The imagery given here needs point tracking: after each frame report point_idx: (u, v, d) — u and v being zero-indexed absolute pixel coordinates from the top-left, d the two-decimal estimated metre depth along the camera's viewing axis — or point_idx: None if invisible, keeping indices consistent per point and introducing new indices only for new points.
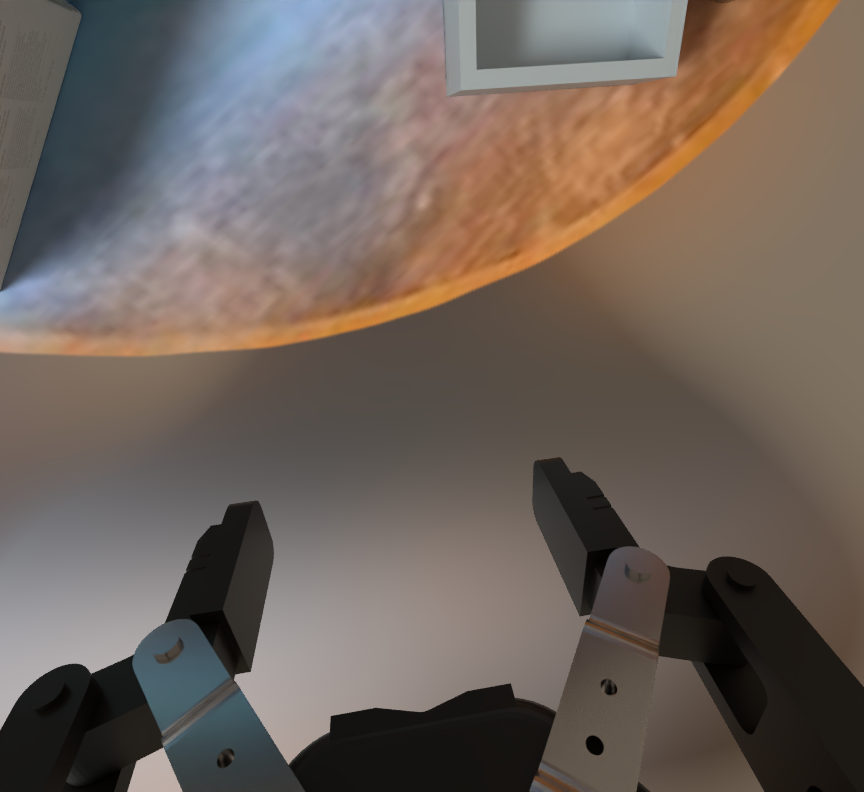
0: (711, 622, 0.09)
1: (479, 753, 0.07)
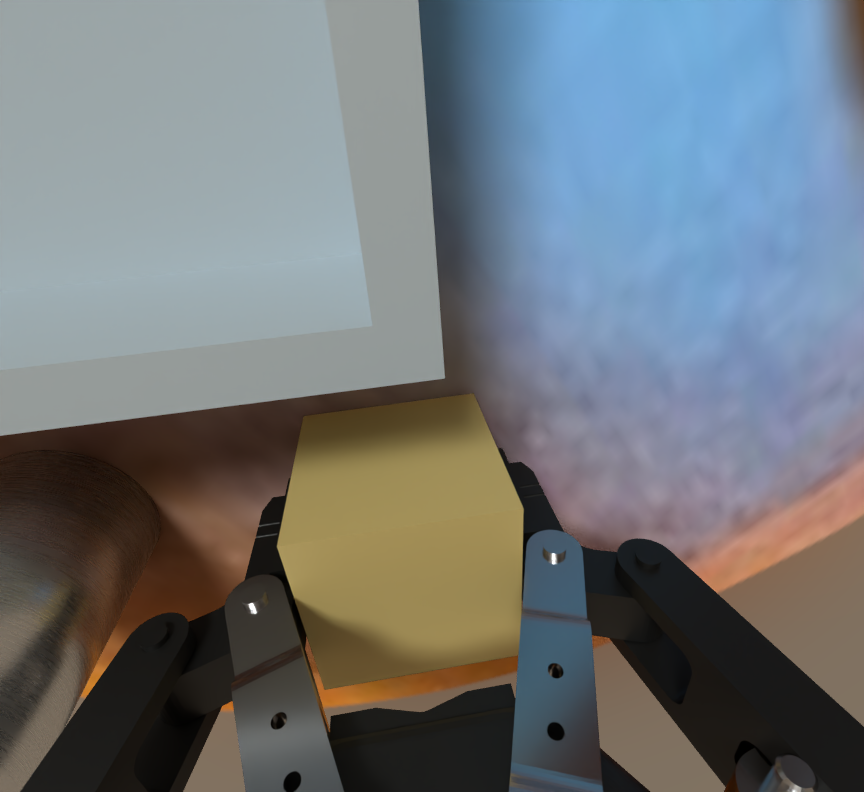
0: (619, 599, 0.10)
1: (479, 753, 0.07)
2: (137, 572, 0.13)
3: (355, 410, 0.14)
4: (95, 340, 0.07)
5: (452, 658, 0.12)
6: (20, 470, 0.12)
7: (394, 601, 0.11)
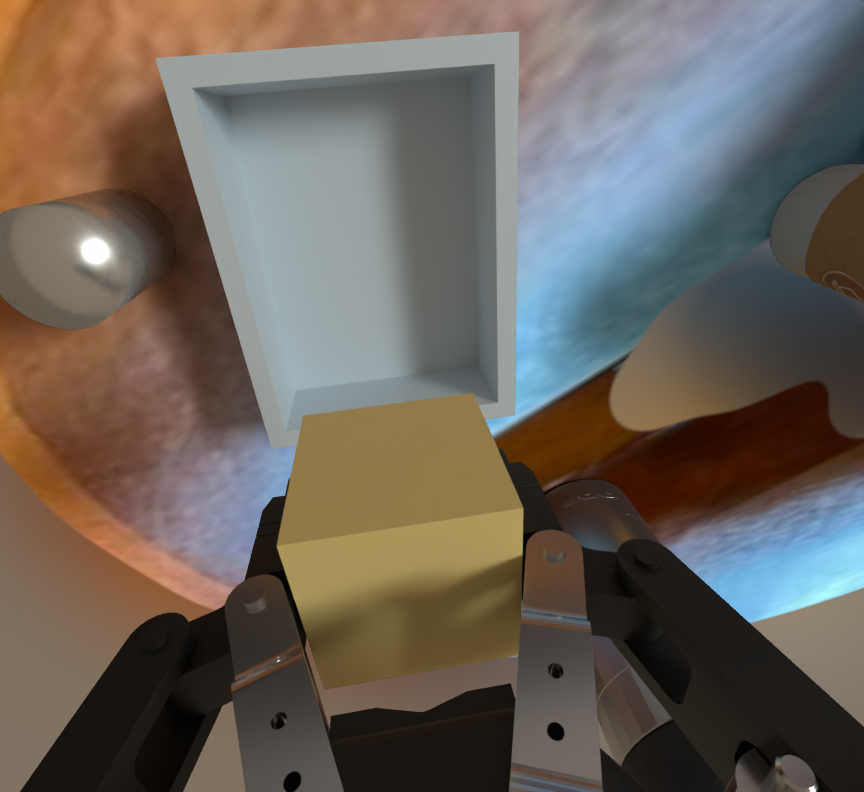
0: (619, 599, 0.10)
1: (479, 753, 0.07)
2: None
3: (355, 410, 0.14)
4: (269, 356, 0.25)
5: (452, 658, 0.12)
6: (169, 243, 0.25)
7: (393, 600, 0.11)
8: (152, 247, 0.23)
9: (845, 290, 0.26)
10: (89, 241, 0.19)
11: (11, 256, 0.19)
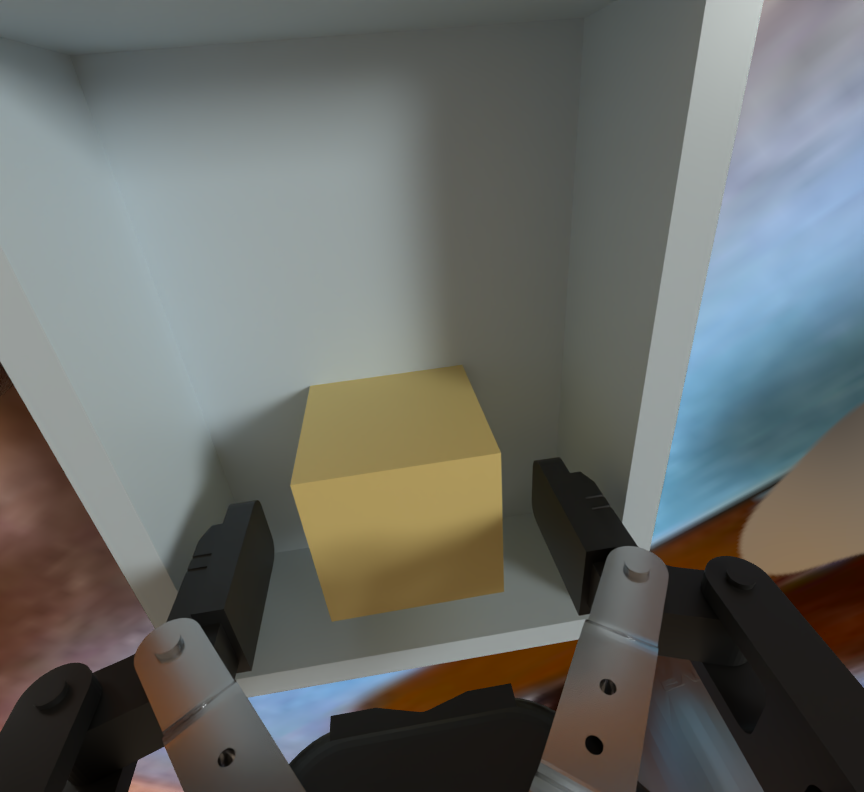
0: (710, 621, 0.09)
1: (479, 753, 0.07)
2: None
3: (356, 380, 0.15)
4: (185, 564, 0.13)
5: (443, 593, 0.14)
6: None
7: (391, 537, 0.12)
8: None
9: None
10: None
11: None
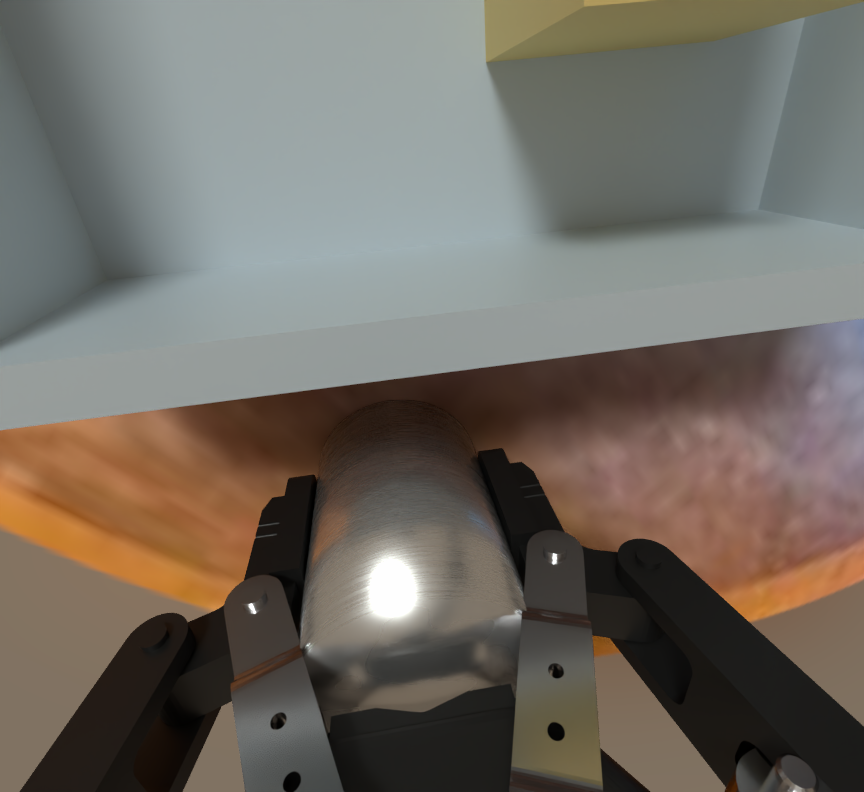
0: (620, 599, 0.10)
1: (479, 753, 0.07)
2: None
3: None
4: (704, 266, 0.08)
5: None
6: (402, 415, 0.13)
7: None
8: (398, 462, 0.11)
9: None
10: (355, 636, 0.08)
11: None
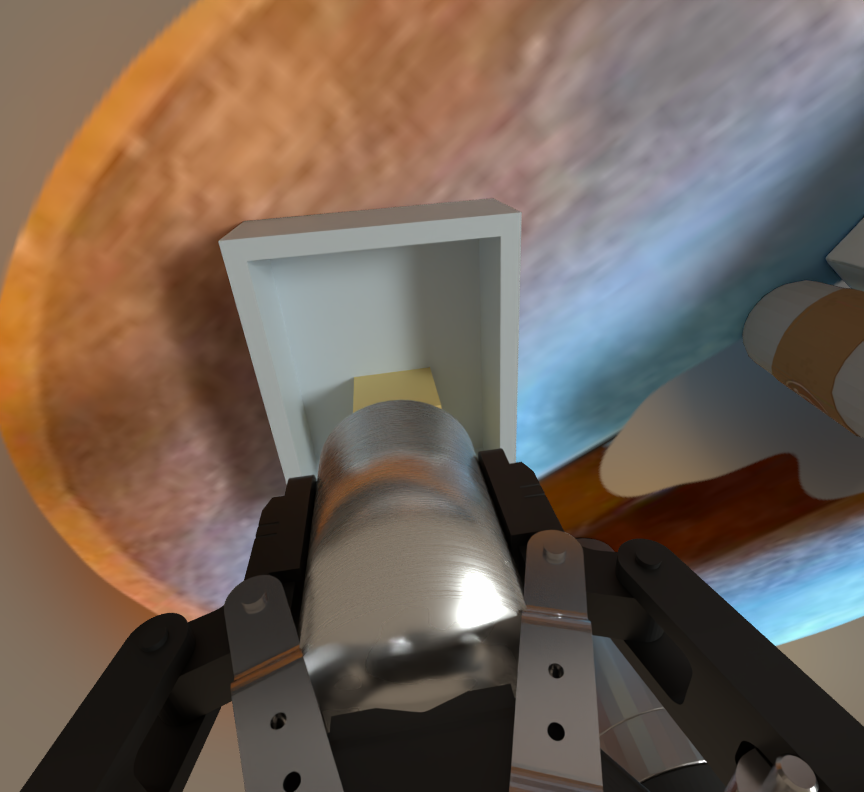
0: (620, 599, 0.10)
1: (479, 753, 0.07)
2: None
3: (376, 374, 0.31)
4: (300, 456, 0.28)
5: None
6: (401, 415, 0.13)
7: None
8: (398, 462, 0.11)
9: (804, 398, 0.30)
10: (355, 635, 0.08)
11: None
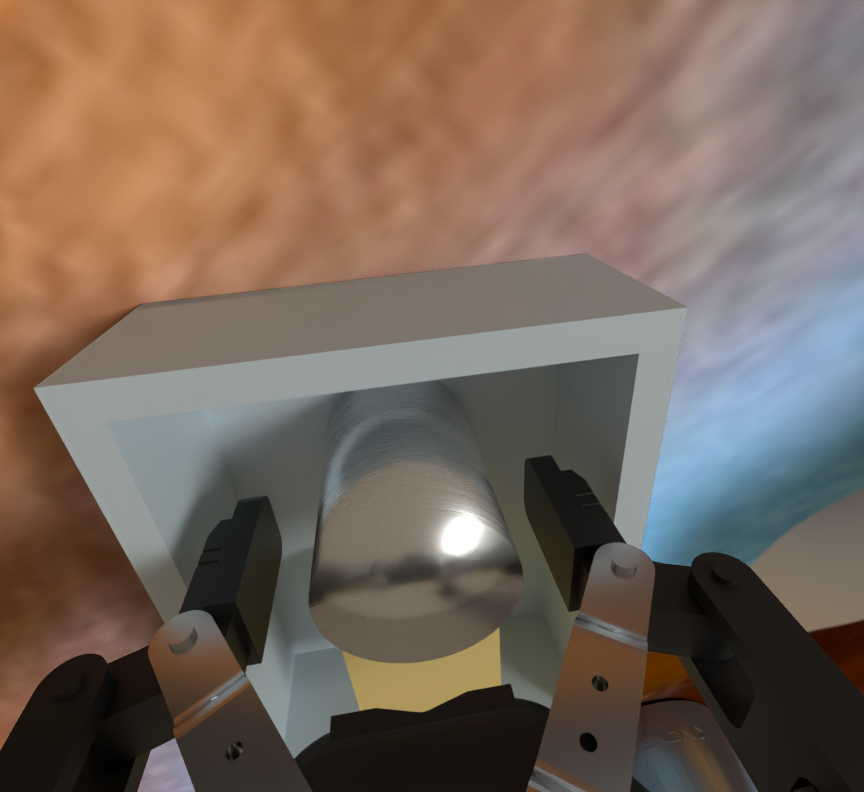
0: (695, 617, 0.09)
1: (479, 753, 0.07)
2: None
3: None
4: None
5: None
6: None
7: (415, 679, 0.16)
8: (398, 418, 0.13)
9: None
10: (362, 546, 0.10)
11: (392, 636, 0.12)
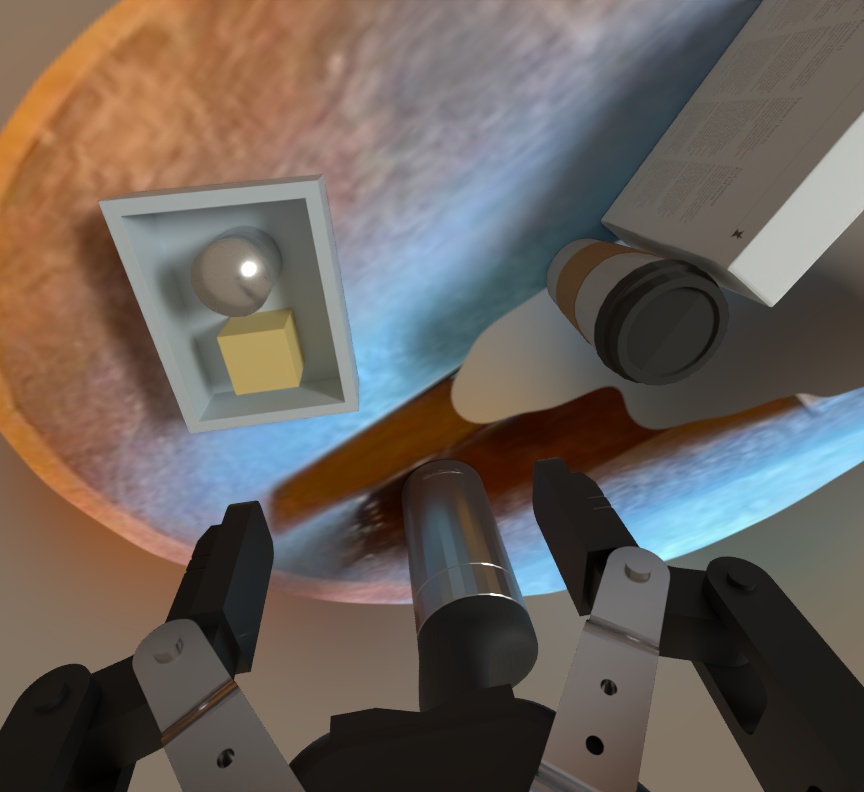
0: (711, 622, 0.09)
1: (479, 753, 0.07)
2: (279, 270, 0.37)
3: None
4: (184, 371, 0.38)
5: (275, 385, 0.38)
6: (242, 227, 0.36)
7: (252, 359, 0.37)
8: (233, 232, 0.34)
9: None
10: (205, 255, 0.31)
11: (224, 301, 0.32)
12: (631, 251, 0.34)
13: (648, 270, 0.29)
